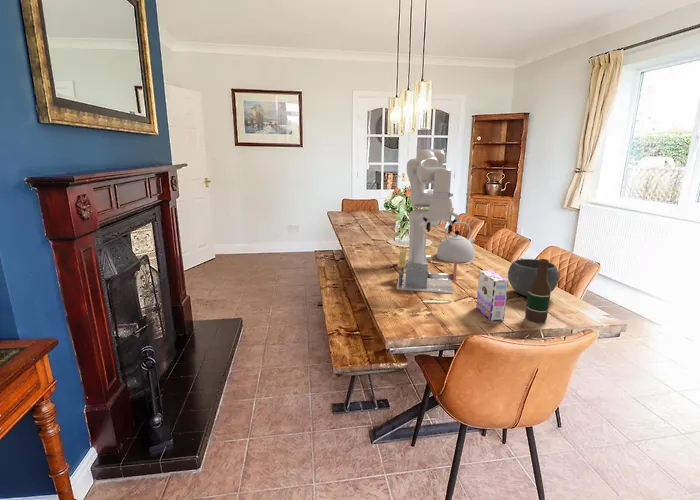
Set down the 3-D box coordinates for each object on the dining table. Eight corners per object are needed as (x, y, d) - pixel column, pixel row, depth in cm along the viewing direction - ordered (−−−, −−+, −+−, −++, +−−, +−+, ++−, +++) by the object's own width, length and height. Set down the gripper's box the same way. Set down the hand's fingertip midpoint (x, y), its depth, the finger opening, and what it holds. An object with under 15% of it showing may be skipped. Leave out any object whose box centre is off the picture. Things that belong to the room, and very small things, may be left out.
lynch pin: (454, 280, 181) (456, 258, 179) (455, 284, 176) (457, 261, 174) (420, 278, 184) (421, 256, 182) (420, 281, 179) (421, 259, 177)
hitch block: (450, 281, 189) (452, 263, 187) (453, 293, 172) (454, 274, 170) (398, 277, 194) (399, 260, 192) (396, 289, 177) (397, 270, 175)
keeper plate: (406, 264, 191) (407, 250, 189) (405, 268, 184) (406, 254, 182) (398, 263, 191) (399, 250, 190) (397, 267, 185) (398, 253, 183)
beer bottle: (537, 324, 141) (546, 263, 135) (520, 317, 148) (527, 258, 142) (551, 320, 145) (560, 261, 139) (533, 313, 151) (541, 256, 145)
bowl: (566, 300, 165) (571, 268, 161) (527, 305, 159) (532, 271, 155) (532, 285, 184) (536, 256, 180) (496, 289, 178) (500, 259, 174)
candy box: (504, 321, 144) (509, 280, 140) (489, 321, 144) (494, 280, 140) (488, 306, 157) (492, 269, 153) (475, 307, 157) (478, 269, 153)
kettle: (463, 251, 248) (466, 217, 242) (485, 260, 227) (489, 224, 221) (429, 254, 240) (431, 219, 235) (449, 264, 219) (452, 226, 214)
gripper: (461, 195, 172) (458, 232, 176) (424, 194, 179) (422, 229, 183) (459, 197, 165) (456, 235, 169) (420, 195, 172) (418, 232, 176)
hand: (438, 232), depth 176 cm, fingers open, 9 cm apart
